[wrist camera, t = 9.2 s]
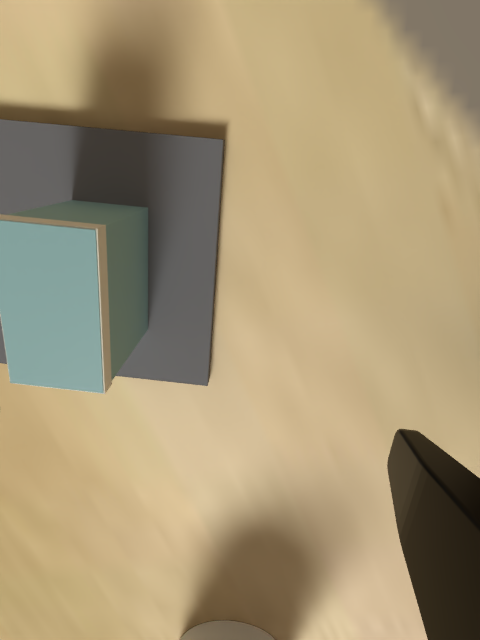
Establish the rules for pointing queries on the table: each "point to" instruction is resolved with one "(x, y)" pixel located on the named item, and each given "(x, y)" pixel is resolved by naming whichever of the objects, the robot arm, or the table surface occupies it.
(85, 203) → the pale teal block
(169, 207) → the mat
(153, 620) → the table surface
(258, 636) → the cup
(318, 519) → the table surface
